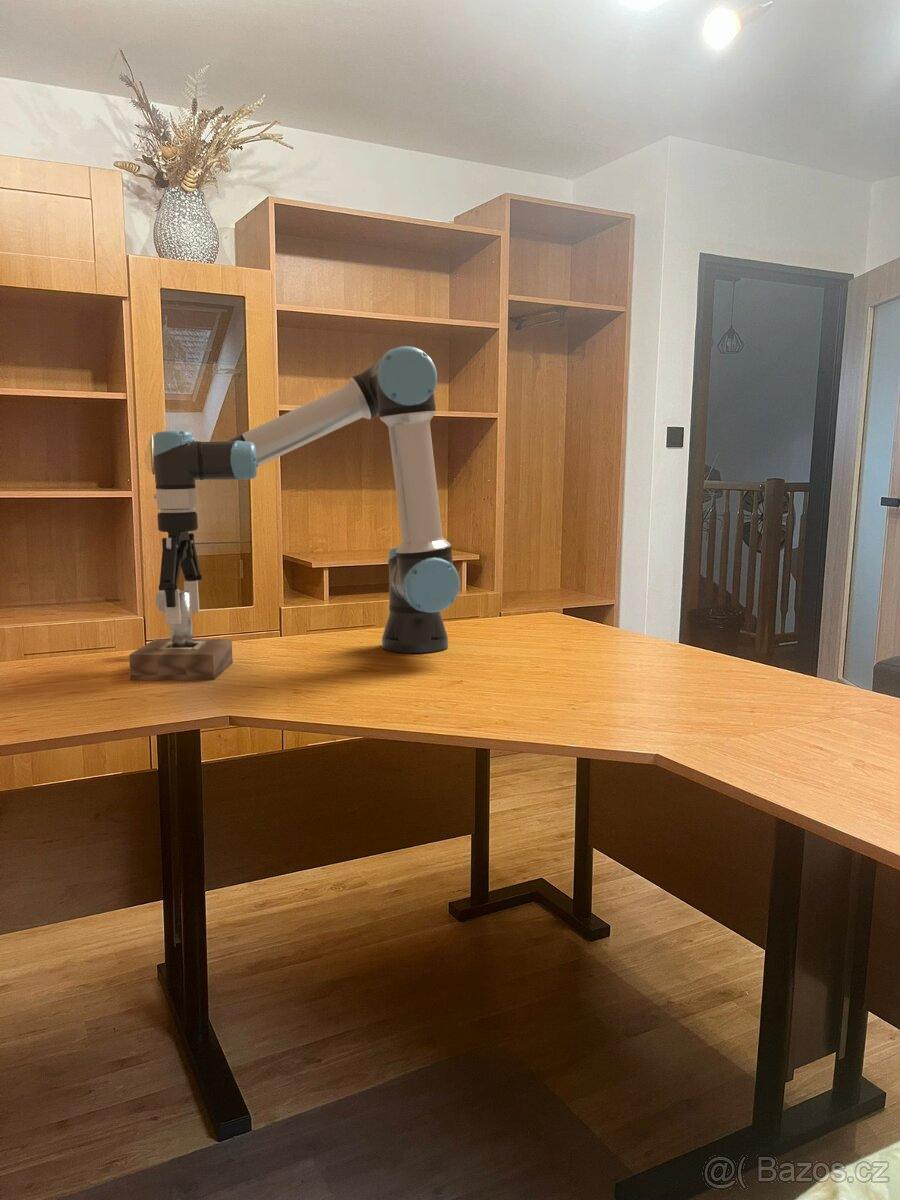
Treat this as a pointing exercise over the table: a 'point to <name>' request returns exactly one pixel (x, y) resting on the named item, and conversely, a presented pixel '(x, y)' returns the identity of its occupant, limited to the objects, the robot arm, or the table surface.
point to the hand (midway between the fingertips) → (183, 617)
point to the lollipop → (161, 604)
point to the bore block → (181, 660)
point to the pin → (183, 623)
